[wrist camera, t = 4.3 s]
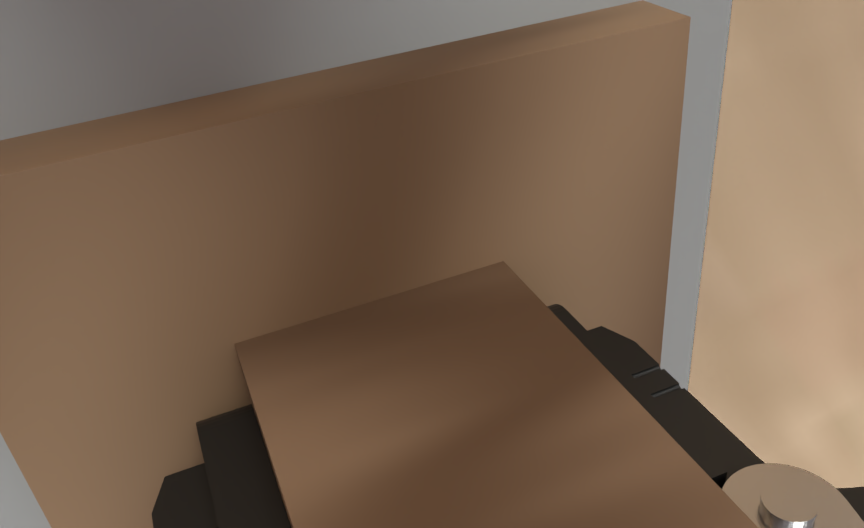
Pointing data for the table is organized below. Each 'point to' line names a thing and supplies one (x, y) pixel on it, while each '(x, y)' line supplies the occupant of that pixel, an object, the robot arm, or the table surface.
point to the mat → (300, 54)
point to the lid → (362, 287)
